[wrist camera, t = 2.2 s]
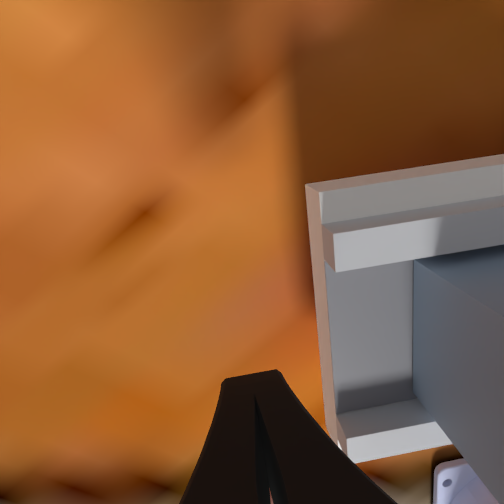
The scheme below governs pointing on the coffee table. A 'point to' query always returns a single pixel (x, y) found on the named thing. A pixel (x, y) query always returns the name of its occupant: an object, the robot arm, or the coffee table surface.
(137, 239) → the coffee table surface
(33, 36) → the coffee table surface
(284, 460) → the robot arm
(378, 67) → the coffee table surface
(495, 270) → the rider
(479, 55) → the coffee table surface
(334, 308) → the balance beam
